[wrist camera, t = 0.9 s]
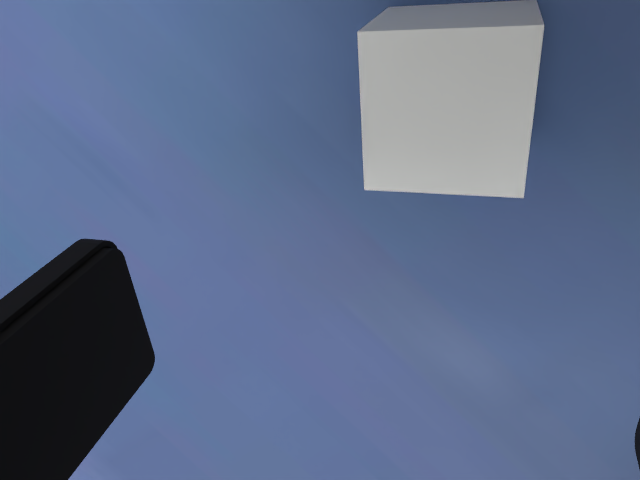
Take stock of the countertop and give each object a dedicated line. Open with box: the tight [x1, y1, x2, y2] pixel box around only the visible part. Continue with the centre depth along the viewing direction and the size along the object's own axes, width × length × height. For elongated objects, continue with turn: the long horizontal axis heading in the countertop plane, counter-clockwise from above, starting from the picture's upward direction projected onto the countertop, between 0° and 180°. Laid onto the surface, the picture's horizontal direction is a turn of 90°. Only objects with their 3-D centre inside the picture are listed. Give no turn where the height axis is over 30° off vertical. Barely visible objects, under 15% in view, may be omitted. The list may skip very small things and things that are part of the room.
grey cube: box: [357, 0, 544, 198], centre depth 22 cm, size 6×6×6 cm
